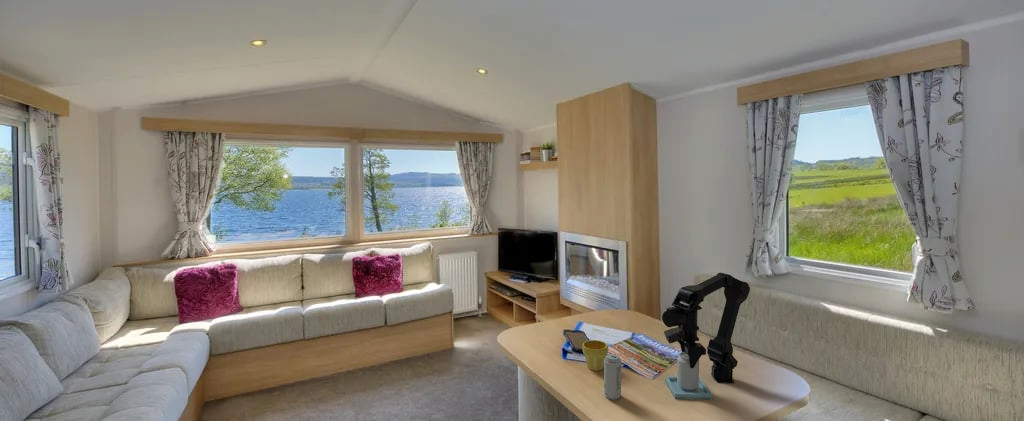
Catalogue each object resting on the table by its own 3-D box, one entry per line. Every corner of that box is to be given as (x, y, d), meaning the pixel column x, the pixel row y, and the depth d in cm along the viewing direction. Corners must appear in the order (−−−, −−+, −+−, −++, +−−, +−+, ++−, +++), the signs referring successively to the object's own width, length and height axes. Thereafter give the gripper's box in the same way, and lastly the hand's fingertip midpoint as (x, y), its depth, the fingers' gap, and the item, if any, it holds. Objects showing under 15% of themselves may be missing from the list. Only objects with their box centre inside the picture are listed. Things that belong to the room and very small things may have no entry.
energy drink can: (606, 390, 159) (607, 351, 157) (623, 394, 156) (623, 354, 154) (601, 398, 154) (601, 357, 152) (618, 402, 151) (618, 361, 149)
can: (700, 392, 154) (701, 360, 153) (678, 390, 155) (679, 358, 154) (696, 381, 161) (696, 351, 160) (675, 380, 163) (675, 350, 161)
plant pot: (582, 361, 184) (582, 339, 183) (606, 362, 182) (606, 340, 181) (583, 372, 173) (582, 349, 173) (609, 373, 172) (609, 350, 171)
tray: (699, 381, 164) (699, 377, 164) (712, 399, 151) (712, 394, 151) (664, 380, 165) (664, 376, 165) (674, 398, 152) (674, 393, 152)
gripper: (659, 313, 166) (659, 352, 167) (673, 331, 147) (673, 375, 149) (689, 313, 165) (688, 352, 166) (707, 331, 146) (706, 375, 148)
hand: (688, 363), depth 157 cm, fingers closed on can, 7 cm apart
